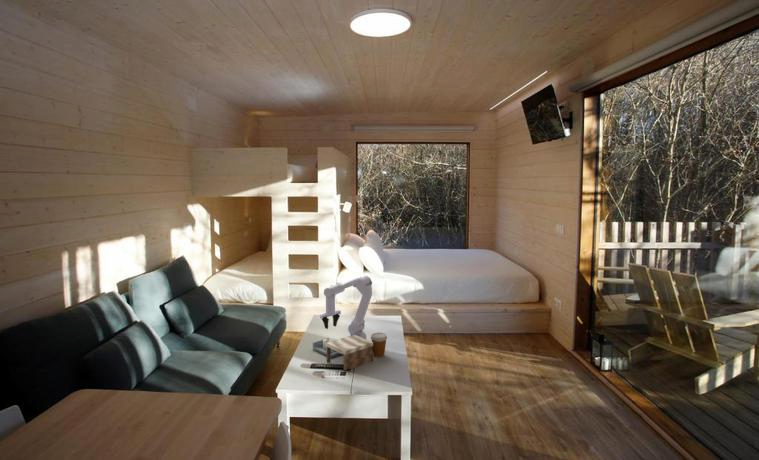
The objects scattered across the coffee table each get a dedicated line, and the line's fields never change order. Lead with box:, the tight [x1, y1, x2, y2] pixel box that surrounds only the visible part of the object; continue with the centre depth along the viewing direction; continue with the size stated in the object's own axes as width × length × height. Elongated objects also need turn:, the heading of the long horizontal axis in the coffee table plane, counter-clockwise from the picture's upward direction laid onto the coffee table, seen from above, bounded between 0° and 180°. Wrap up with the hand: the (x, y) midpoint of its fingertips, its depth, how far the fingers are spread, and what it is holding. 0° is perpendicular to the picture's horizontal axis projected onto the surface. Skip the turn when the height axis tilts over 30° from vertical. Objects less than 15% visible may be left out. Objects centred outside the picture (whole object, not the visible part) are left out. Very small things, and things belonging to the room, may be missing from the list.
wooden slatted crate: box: [326, 334, 374, 371], centre depth 250 cm, size 20×16×11 cm
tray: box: [312, 337, 344, 359], centre depth 265 cm, size 11×18×6 cm, turn 42°
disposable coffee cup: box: [370, 332, 388, 358], centre depth 259 cm, size 10×10×12 cm
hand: (330, 327), depth 280 cm, fingers open, 6 cm apart
